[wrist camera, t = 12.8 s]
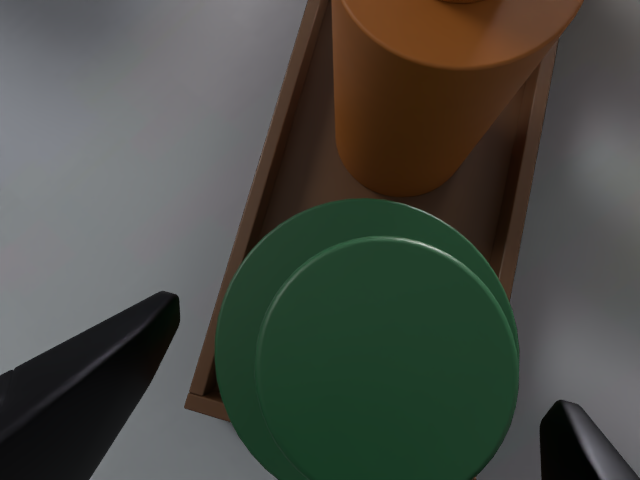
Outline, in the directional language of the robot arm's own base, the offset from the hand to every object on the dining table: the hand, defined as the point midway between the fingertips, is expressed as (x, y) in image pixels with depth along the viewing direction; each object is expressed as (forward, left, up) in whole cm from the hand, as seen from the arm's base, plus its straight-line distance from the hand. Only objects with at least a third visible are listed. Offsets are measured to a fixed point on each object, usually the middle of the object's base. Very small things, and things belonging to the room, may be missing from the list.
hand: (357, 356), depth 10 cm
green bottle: (0, 0, -8) cm, 8 cm away
